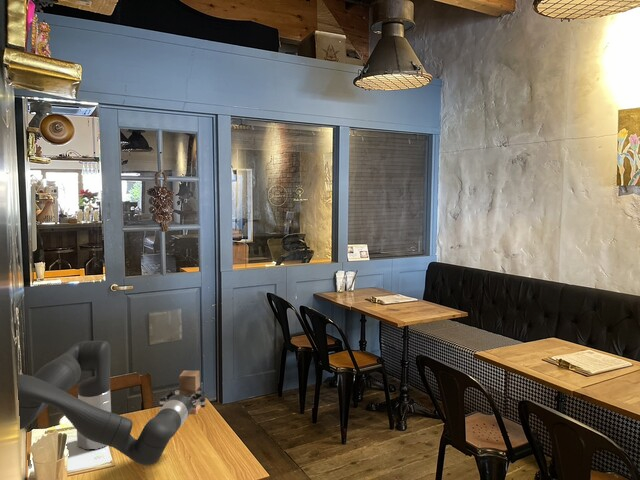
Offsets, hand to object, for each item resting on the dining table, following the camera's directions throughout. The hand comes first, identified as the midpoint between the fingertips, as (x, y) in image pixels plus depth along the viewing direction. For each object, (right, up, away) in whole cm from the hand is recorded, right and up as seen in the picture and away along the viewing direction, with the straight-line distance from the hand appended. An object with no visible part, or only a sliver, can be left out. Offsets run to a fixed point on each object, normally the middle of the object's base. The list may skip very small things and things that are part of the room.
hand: (191, 389), depth 152 cm
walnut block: (0, +6, -3) cm, 6 cm away
